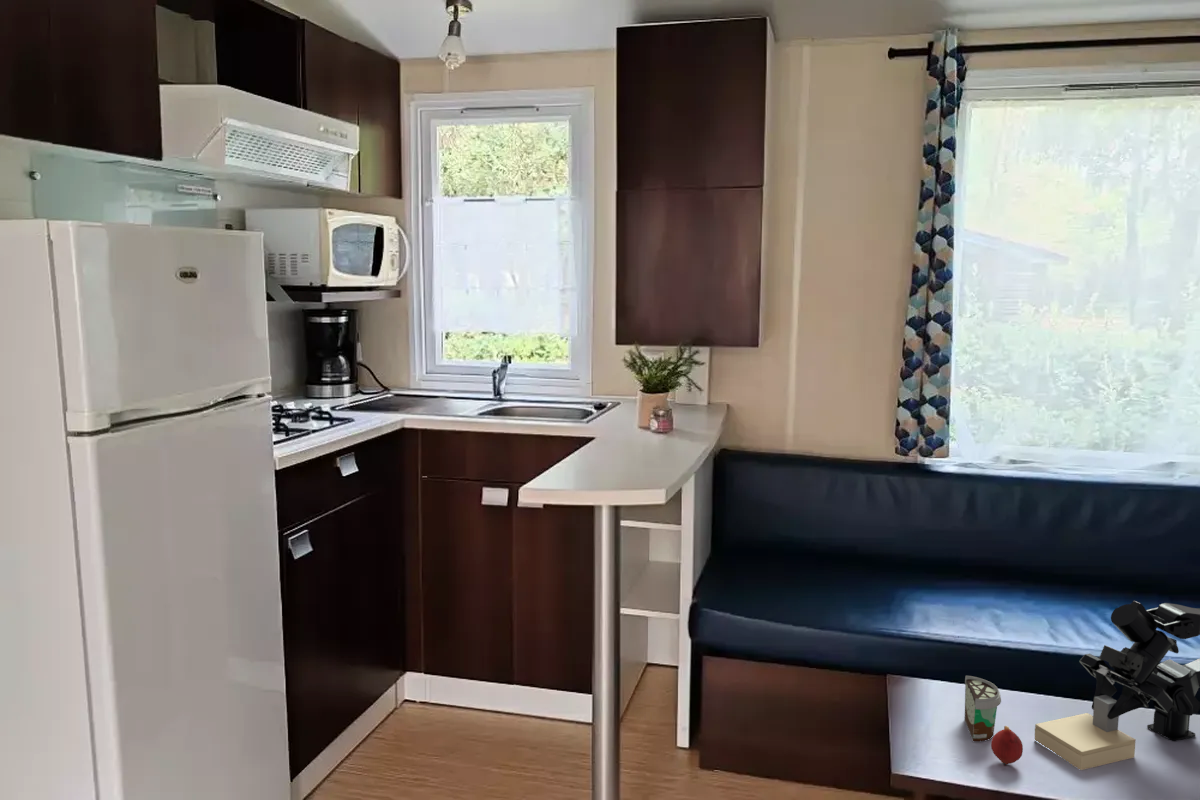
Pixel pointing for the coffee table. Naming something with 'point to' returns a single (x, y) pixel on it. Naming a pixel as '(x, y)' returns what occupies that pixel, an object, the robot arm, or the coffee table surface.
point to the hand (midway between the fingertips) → (1100, 713)
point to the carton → (1088, 759)
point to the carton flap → (1088, 729)
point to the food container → (980, 707)
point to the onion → (1007, 746)
